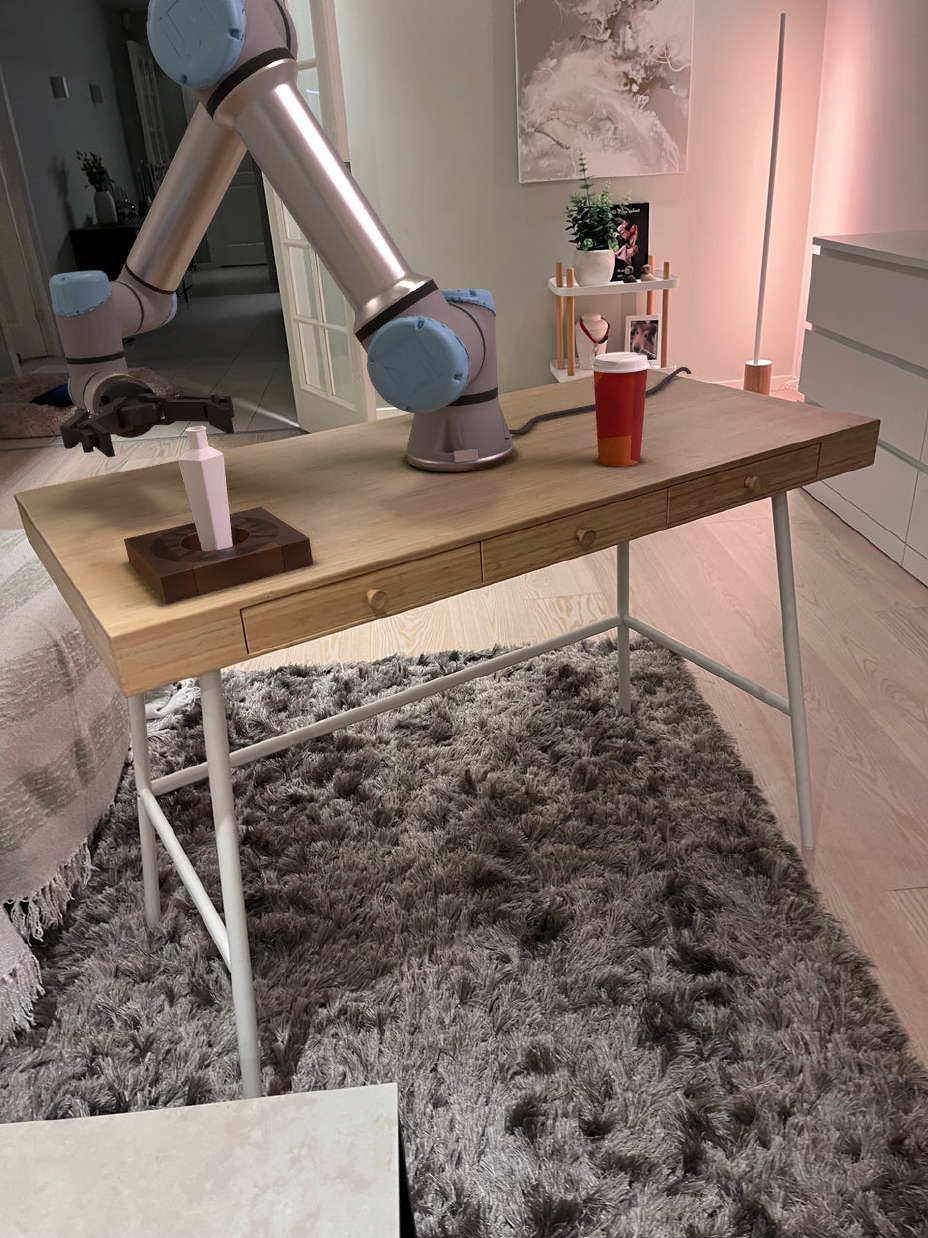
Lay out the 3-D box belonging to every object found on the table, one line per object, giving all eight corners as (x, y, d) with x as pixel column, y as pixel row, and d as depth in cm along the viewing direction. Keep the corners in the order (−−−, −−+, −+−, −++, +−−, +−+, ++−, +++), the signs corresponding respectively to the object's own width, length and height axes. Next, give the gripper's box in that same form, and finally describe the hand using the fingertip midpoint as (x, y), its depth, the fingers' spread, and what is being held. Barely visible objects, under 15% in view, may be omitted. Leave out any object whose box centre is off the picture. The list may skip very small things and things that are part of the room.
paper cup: (628, 449, 133) (630, 348, 127) (658, 462, 127) (661, 356, 121) (580, 458, 131) (579, 355, 125) (608, 472, 124) (609, 364, 118)
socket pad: (264, 530, 112) (260, 506, 110) (313, 564, 101) (309, 538, 99) (129, 564, 104) (123, 538, 103) (166, 604, 93) (160, 576, 92)
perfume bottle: (224, 553, 105) (200, 420, 99) (248, 561, 103) (225, 425, 96) (190, 566, 102) (163, 430, 96) (214, 575, 100) (188, 435, 93)
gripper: (219, 415, 129) (279, 444, 112) (27, 451, 117) (63, 489, 101) (209, 359, 125) (270, 380, 109) (11, 391, 114) (45, 419, 97)
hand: (171, 432), depth 105 cm, fingers open, 13 cm apart
